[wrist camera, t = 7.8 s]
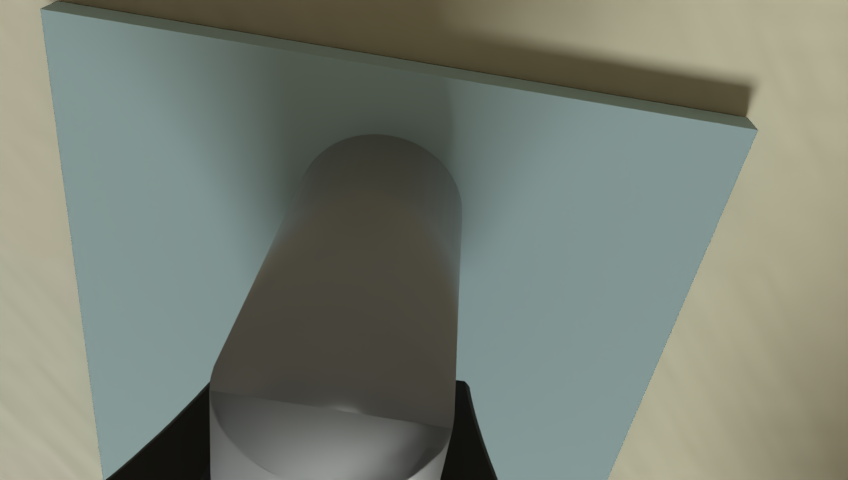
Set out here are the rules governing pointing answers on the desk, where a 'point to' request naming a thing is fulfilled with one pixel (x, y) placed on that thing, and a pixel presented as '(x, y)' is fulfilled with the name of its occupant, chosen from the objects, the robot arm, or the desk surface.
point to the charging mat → (480, 237)
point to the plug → (348, 327)
